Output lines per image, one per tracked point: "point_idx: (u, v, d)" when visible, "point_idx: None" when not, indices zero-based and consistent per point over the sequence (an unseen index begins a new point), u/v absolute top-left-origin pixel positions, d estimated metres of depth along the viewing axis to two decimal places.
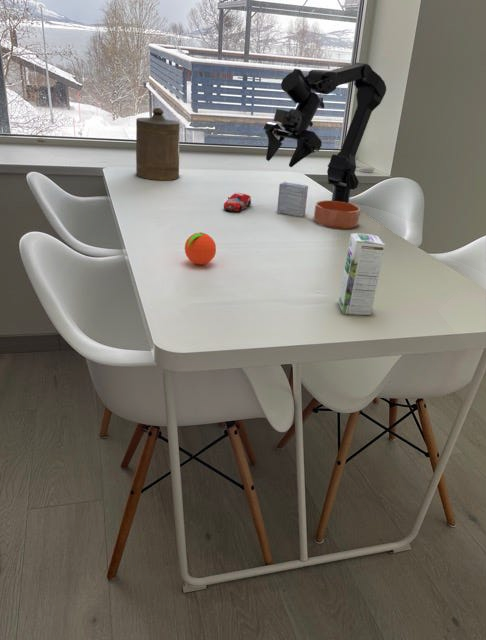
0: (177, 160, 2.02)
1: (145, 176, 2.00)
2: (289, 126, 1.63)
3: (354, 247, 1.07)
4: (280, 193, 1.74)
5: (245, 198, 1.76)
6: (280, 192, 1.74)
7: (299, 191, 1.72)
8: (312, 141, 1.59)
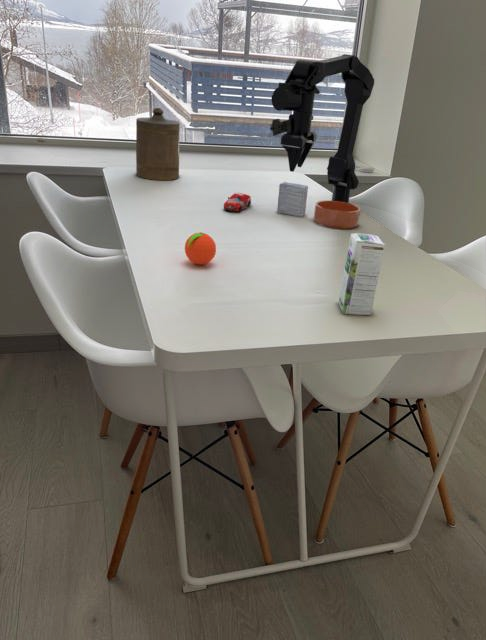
0: (177, 160, 2.02)
1: (145, 176, 2.00)
2: None
3: (354, 247, 1.07)
4: (280, 193, 1.74)
5: (244, 198, 1.76)
6: (280, 192, 1.74)
7: (299, 191, 1.72)
8: (285, 143, 1.60)
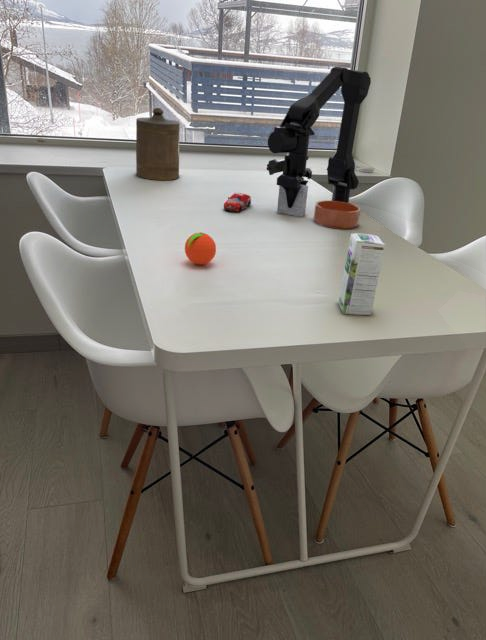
0: (177, 160, 2.02)
1: (145, 176, 2.00)
2: None
3: (354, 247, 1.07)
4: (280, 193, 1.74)
5: (244, 198, 1.76)
6: (280, 192, 1.74)
7: (299, 191, 1.72)
8: (281, 184, 1.65)
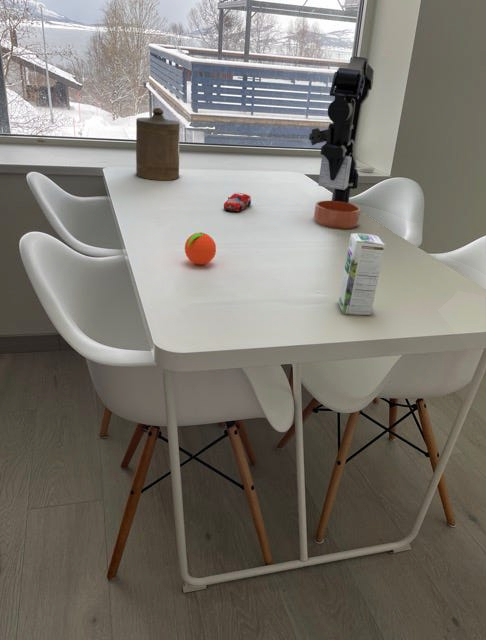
0: (177, 160, 2.02)
1: (145, 176, 2.00)
2: None
3: (354, 247, 1.07)
4: (322, 165, 1.65)
5: (244, 198, 1.76)
6: (322, 163, 1.65)
7: None
8: (325, 154, 1.56)
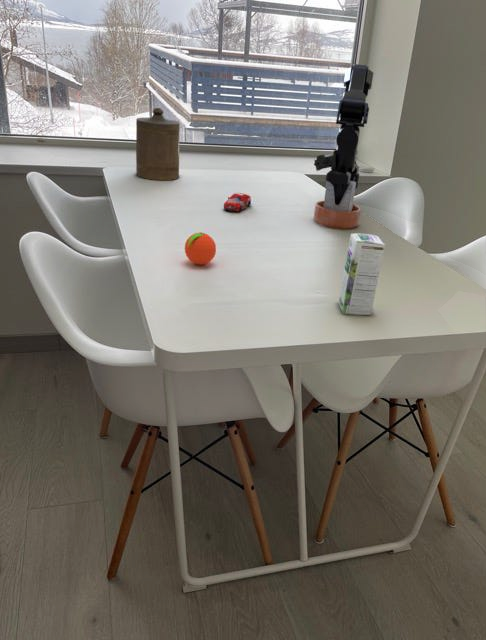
0: (177, 160, 2.02)
1: (145, 176, 2.00)
2: None
3: (354, 247, 1.07)
4: (327, 189, 1.67)
5: (244, 198, 1.76)
6: (327, 188, 1.67)
7: None
8: (331, 180, 1.59)
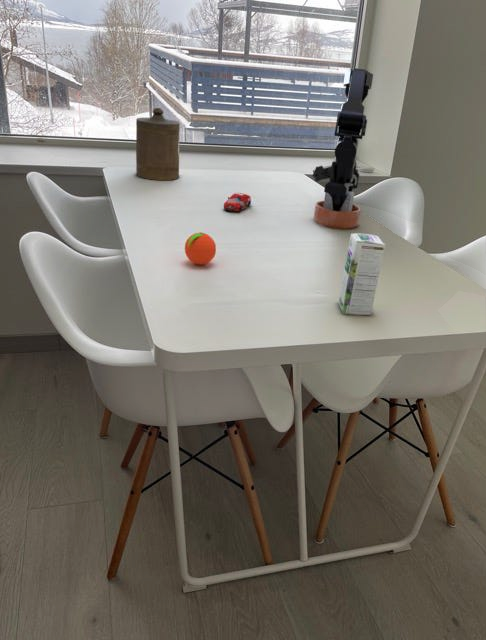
0: (177, 160, 2.02)
1: (145, 176, 2.00)
2: None
3: (354, 247, 1.07)
4: (326, 200, 1.69)
5: (244, 198, 1.76)
6: (326, 199, 1.69)
7: None
8: (329, 191, 1.60)
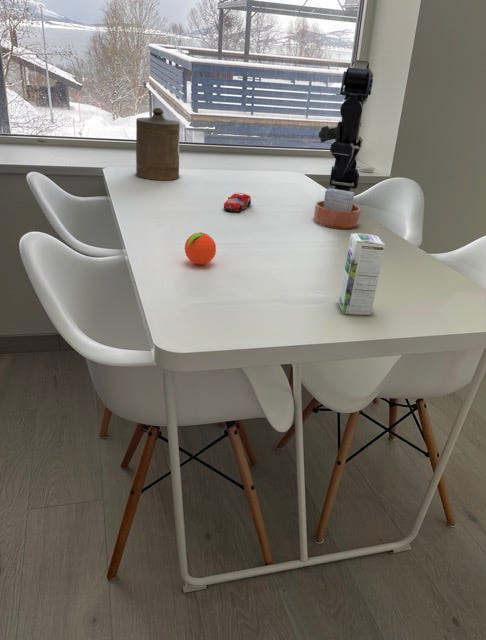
0: (177, 160, 2.02)
1: (145, 176, 2.00)
2: None
3: (354, 247, 1.07)
4: (326, 200, 1.69)
5: (244, 198, 1.76)
6: (326, 199, 1.69)
7: (345, 197, 1.67)
8: (335, 151, 1.61)
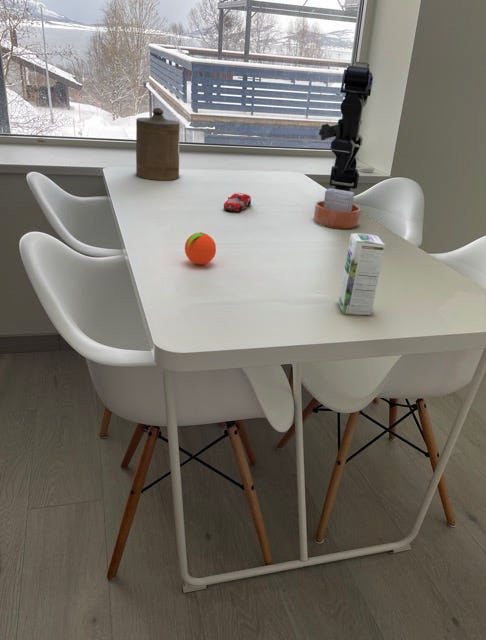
0: (177, 160, 2.02)
1: (145, 176, 2.00)
2: None
3: (354, 247, 1.07)
4: (326, 200, 1.69)
5: (244, 198, 1.76)
6: (326, 199, 1.69)
7: (345, 197, 1.67)
8: (335, 148, 1.62)
